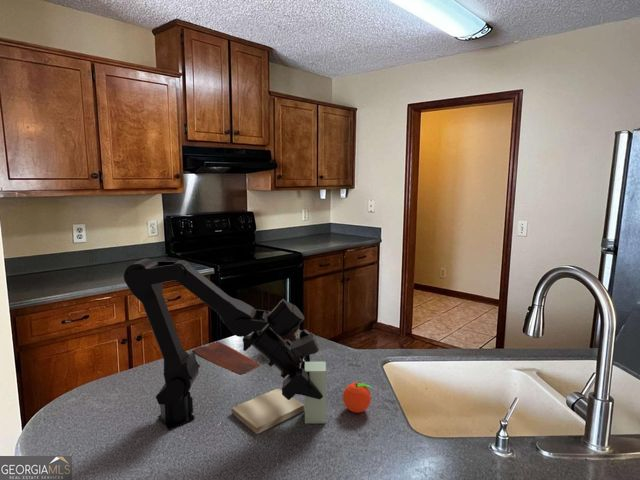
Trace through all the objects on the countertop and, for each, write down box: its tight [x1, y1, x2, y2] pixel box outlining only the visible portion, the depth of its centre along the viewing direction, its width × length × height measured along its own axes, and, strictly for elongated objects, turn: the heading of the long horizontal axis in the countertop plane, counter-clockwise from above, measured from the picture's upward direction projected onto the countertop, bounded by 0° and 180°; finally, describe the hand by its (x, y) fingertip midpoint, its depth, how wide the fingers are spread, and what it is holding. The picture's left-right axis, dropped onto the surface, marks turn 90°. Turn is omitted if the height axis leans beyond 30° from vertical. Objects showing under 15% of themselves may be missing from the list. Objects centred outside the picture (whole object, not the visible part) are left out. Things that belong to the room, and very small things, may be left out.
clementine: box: [342, 382, 374, 414], centre depth 100 cm, size 8×7×7 cm
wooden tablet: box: [192, 340, 261, 375], centre depth 131 cm, size 27×10×2 cm, turn 47°
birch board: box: [231, 388, 305, 435], centre depth 100 cm, size 14×11×2 cm
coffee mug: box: [280, 323, 301, 342], centre depth 139 cm, size 12×9×10 cm
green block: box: [304, 361, 327, 424], centre depth 97 cm, size 5×5×13 cm
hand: (321, 391), depth 97 cm, fingers closed on green block, 5 cm apart
